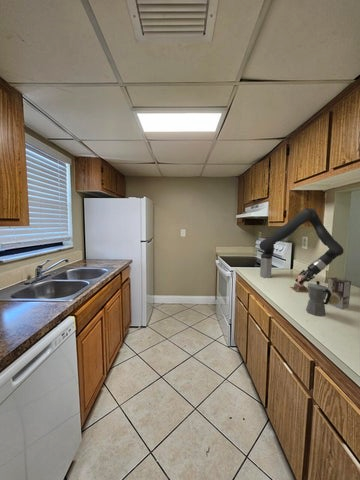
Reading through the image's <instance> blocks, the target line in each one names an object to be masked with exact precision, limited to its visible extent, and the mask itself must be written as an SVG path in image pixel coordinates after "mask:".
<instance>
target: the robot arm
mask: <svg viewBox="0 0 360 480" xmlns="http://www.w3.org/2000/svg"><path fill="white" fill-rule="evenodd" d="M307 222H308V223H310V224H311V225H312V227H313V229H314V230H315V233H316V236H317V237H318V239H319V240H320V241H321V243H322V245H324V246H325V247H327V248H328V250H326V252H325V253H323V254H322V255H321V256H320V257H318V258H317V259H315V260H314V261H313V262H311V264H310V265H308V266H307V269H306V270H305V269H303V270H302V271H301V272H299V274H298V275H301V276H303V277H304V278H303V279H302V280H300V281H299V282H298V277H296V278H295V283H297V282H298V283H299V284H300V285H301V284H303V283H304V284H305V282H307V283H308V282H310V281H312V280H313V279H314V278H315V276H317V275H318V274H320V273H321V272H322V271H323V270H325V268H327V266H329V265H330V264H331V263H332V262H333V261H334V260H335V259H337V257H339V256H342V255H343V254H344V248H343V246H342V245H341V244H340V243H339V242H338V241H337V240H336V239H334V237H333V236H332V235H331V234H330V232H329V231H328V230H327V228H326V227H325V226H324V224H323V222H322V221H321V219H320V217H319V215H318V213H317V212H316V210H315V209H314V208H304V209H302V210H301V211H299V213H297V214H296V216H295V217H293V218H292V219H291V220H290V221H287V223H285V224H284V225H282V226H281V227H280V228H278V229H277V230H276V231H275V232H273V233H272V234H271V235H270V236H268V237H267V238H265V239H263V240H262V241H260V243H259V249H260V250H261V251H263V252H262V253H261V254H260V270H259V271H260V273H259V277H262V278H266V279H267V278H268V279H269V278H272V264H273V256H274V251H275V244H276V243H278V242H281V241H283V240H284V239H287V238H288V237H289V236H291V235H292V234H294V233H295V232H296V230H297V229H298V228H299V227H301V226H302V225H303V224H305V223H307Z"/></svg>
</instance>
